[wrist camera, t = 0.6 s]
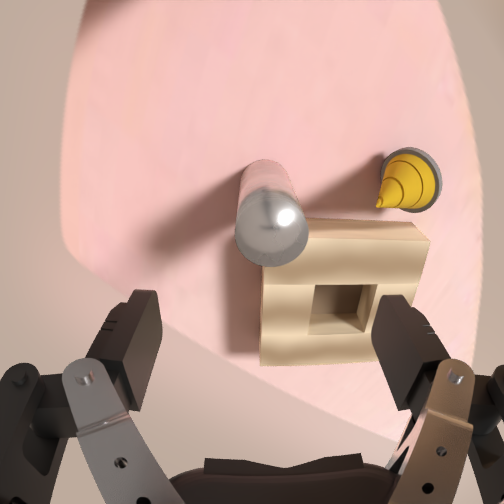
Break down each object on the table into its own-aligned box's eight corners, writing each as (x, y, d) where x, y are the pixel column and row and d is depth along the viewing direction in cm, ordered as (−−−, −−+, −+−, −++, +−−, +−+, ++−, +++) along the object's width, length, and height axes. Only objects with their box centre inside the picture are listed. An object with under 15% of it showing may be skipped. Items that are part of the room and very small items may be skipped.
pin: (240, 159, 25) (234, 199, 17) (290, 160, 25) (311, 200, 17) (240, 205, 27) (235, 266, 19) (287, 206, 27) (305, 267, 19)
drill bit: (416, 207, 28) (368, 253, 22) (387, 159, 28) (330, 189, 22) (460, 184, 23) (427, 227, 18) (428, 131, 23) (383, 151, 18)
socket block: (263, 216, 28) (265, 237, 24) (411, 222, 28) (430, 241, 24) (259, 338, 34) (259, 366, 31) (380, 335, 35) (391, 359, 31)
